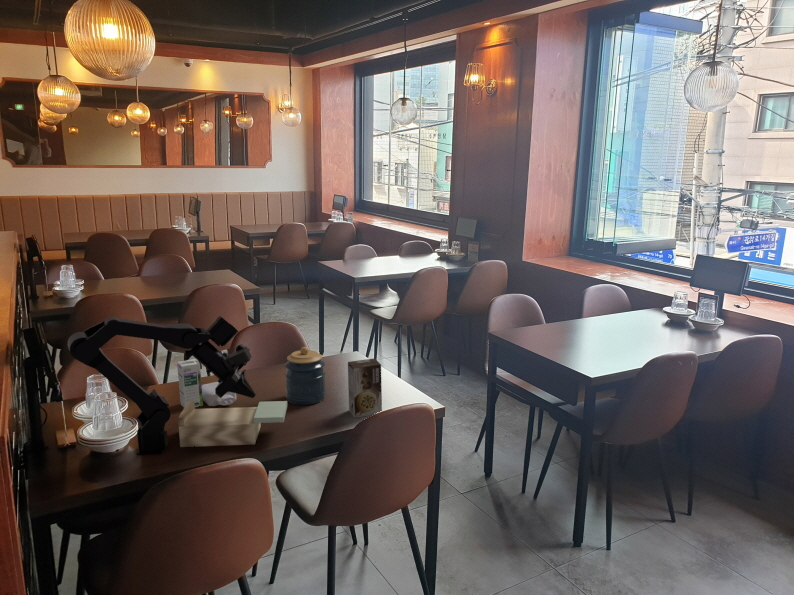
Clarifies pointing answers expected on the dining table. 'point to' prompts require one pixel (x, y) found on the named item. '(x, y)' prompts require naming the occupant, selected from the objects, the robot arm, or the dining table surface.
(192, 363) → the syrup box
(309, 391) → the canister
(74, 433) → the dining table surface
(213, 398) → the charger
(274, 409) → the pale green flat block
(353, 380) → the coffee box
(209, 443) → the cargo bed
